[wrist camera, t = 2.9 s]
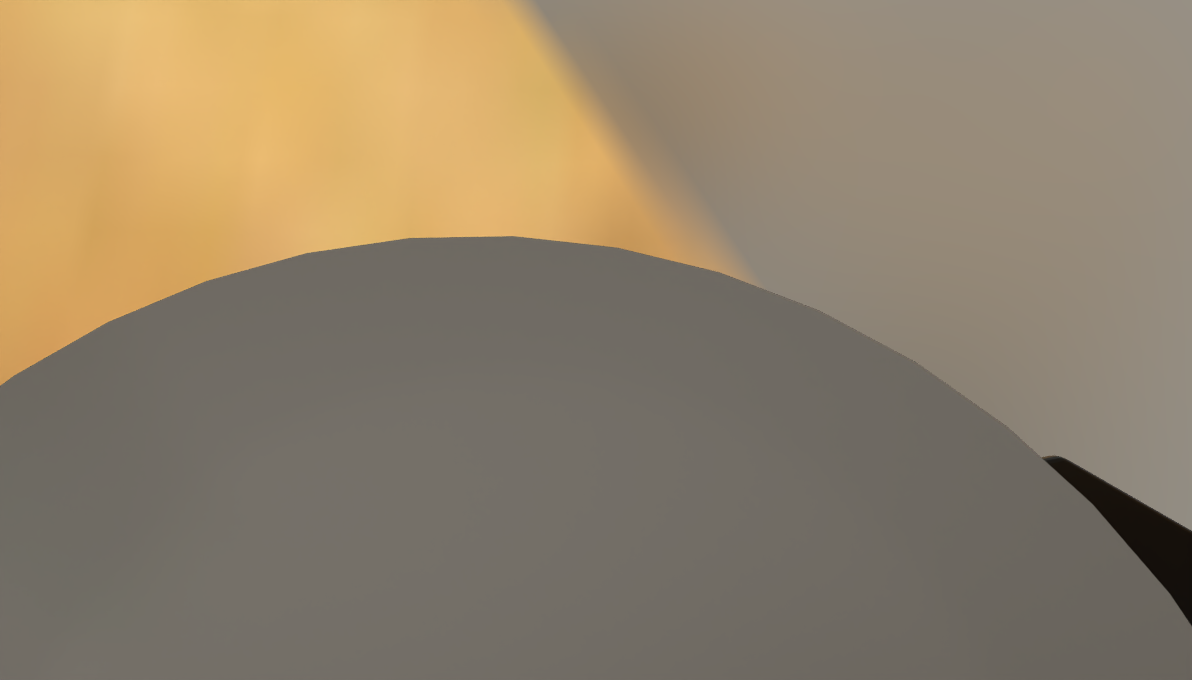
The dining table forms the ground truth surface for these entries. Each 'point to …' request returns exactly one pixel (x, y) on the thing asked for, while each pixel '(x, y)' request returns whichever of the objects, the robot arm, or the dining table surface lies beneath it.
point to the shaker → (537, 490)
